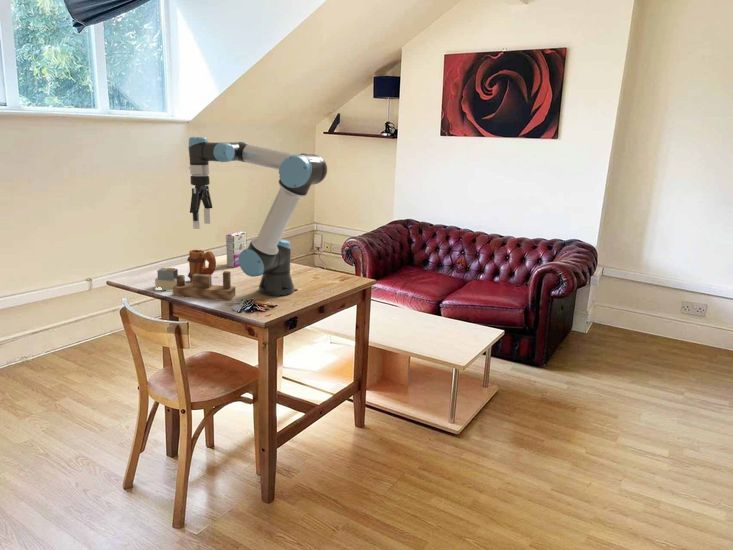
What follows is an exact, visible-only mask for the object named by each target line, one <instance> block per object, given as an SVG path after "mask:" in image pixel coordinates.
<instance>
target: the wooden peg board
mask: <svg viewBox="0 0 733 550" xmlns="http://www.w3.org/2000/svg"><path fill="white" fill-rule="evenodd" d="M185 278H186V277H185V275H183V274H178V275H177V285H175V286H174V287H173V292H172V297H173V296H177V297H176V298H186V297H187V299H191V298H192V299H201V300H202V299H205V300H217V301H228V302H229V301H230V302H231V301H232V300H233V299H234V298H235V297H236V295H237V294H236V286H232V285H231V271H228V270H226V271H225V270H224V271H223V272H222V285H219V284H217V285H216V284H212V283H213V282H212V275H207V274H194V275H192V282H191V283H190V282H189V283H187V282H186V279H185Z"/></svg>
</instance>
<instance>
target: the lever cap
mask: <svg viewBox="0 0 733 550" xmlns="http://www.w3.org/2000/svg"><path fill="white" fill-rule="evenodd" d="M156 272H157V278H158V280H171V281H174V280H176V279H177V275H179V272H178V268H175V267H161V268H159V269H158V270H157V271H156Z"/></svg>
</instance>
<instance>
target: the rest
mask: <svg viewBox="0 0 733 550" xmlns="http://www.w3.org/2000/svg"><path fill="white" fill-rule="evenodd" d="M154 281H155V285H154V286H155V287H157V288H158V287H161V288H162V290H166V291H165V292H171V291H173V287H174V286H175V285H177V279H176V280H174V281H171V280H158V277H156V278H155V279H154Z"/></svg>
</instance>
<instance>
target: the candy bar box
mask: <svg viewBox="0 0 733 550" xmlns="http://www.w3.org/2000/svg"><path fill="white" fill-rule="evenodd" d="M225 242H226V243H225V244H226V245H225V247H226V249H225V250H226V267H227V268H234V269H235V268H238V267H240V264H239V255H240V253H241V252H242V251H243V250H244V249H247V248H248V246H247V242H248V241H247V231H246V232H245V231H236V232H232V233H229V234H226V235H225Z"/></svg>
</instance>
